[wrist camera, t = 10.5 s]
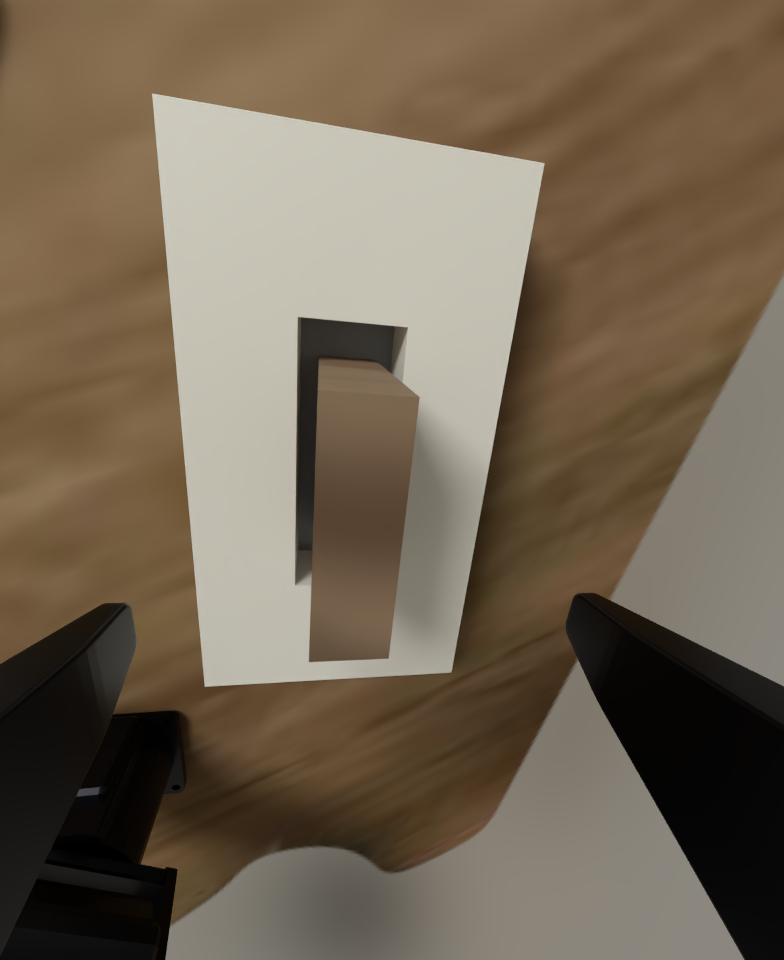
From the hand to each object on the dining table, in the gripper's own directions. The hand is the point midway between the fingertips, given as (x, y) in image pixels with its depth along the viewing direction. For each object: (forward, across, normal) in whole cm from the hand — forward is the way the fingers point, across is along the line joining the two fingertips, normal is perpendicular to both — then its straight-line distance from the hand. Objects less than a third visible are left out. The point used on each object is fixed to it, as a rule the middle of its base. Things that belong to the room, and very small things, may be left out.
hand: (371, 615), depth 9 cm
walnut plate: (+12, 0, 0) cm, 12 cm away
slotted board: (+13, 0, 0) cm, 13 cm away
